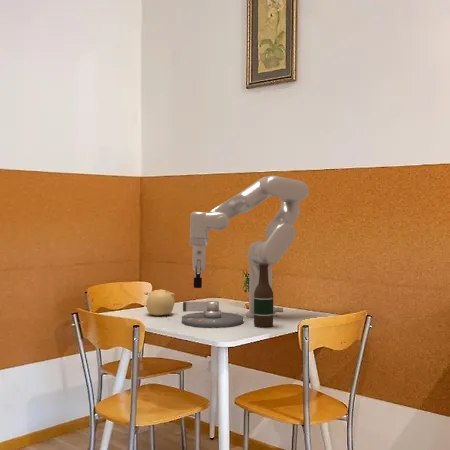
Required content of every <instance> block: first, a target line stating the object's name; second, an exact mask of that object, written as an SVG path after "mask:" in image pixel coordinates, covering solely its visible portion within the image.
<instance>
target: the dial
mask: <svg viewBox="0 0 450 450" xmlns="http://www.w3.org/2000/svg"><path fill="white" fill-rule="evenodd" d="M182 312H204V317H207V318H218V317H221V312H222V310H221V309H220V302H219V301H218V300H208V301H205V300H204V301H182Z"/></svg>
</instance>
